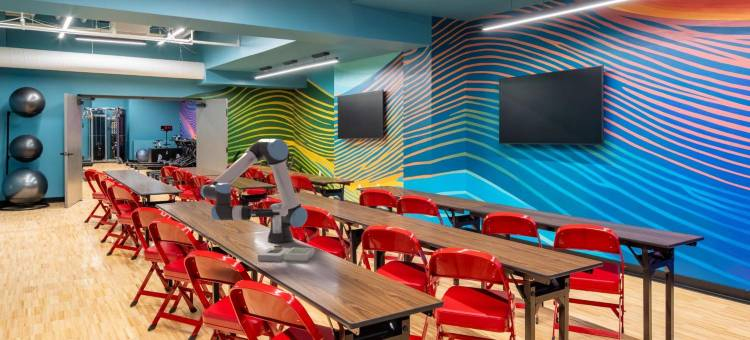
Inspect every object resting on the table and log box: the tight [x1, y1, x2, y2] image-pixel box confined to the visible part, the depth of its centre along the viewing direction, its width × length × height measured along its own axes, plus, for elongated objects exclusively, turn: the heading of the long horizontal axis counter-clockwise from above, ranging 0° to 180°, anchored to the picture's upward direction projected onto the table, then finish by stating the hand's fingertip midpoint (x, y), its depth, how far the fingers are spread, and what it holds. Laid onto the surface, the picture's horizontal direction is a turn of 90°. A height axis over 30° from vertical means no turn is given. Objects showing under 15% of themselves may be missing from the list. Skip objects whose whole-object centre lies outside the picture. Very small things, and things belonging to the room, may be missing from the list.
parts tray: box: [283, 247, 315, 263], centre depth 255 cm, size 14×12×4 cm
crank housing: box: [257, 245, 291, 262], centre depth 258 cm, size 16×12×5 cm
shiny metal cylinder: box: [272, 205, 281, 233], centre depth 256 cm, size 4×4×14 cm
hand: (286, 212), depth 256 cm, fingers closed on shiny metal cylinder, 4 cm apart
